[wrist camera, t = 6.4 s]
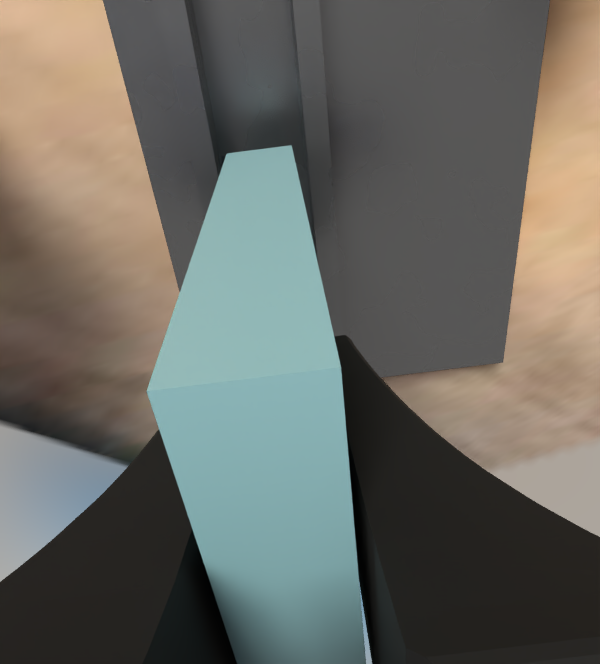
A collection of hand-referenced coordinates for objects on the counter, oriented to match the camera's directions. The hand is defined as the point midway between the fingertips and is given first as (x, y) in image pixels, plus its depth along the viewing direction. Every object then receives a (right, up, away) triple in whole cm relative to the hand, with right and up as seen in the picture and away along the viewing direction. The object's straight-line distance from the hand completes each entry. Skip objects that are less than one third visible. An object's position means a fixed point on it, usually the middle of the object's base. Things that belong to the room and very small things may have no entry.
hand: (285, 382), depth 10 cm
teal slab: (0, +2, +3) cm, 4 cm away
